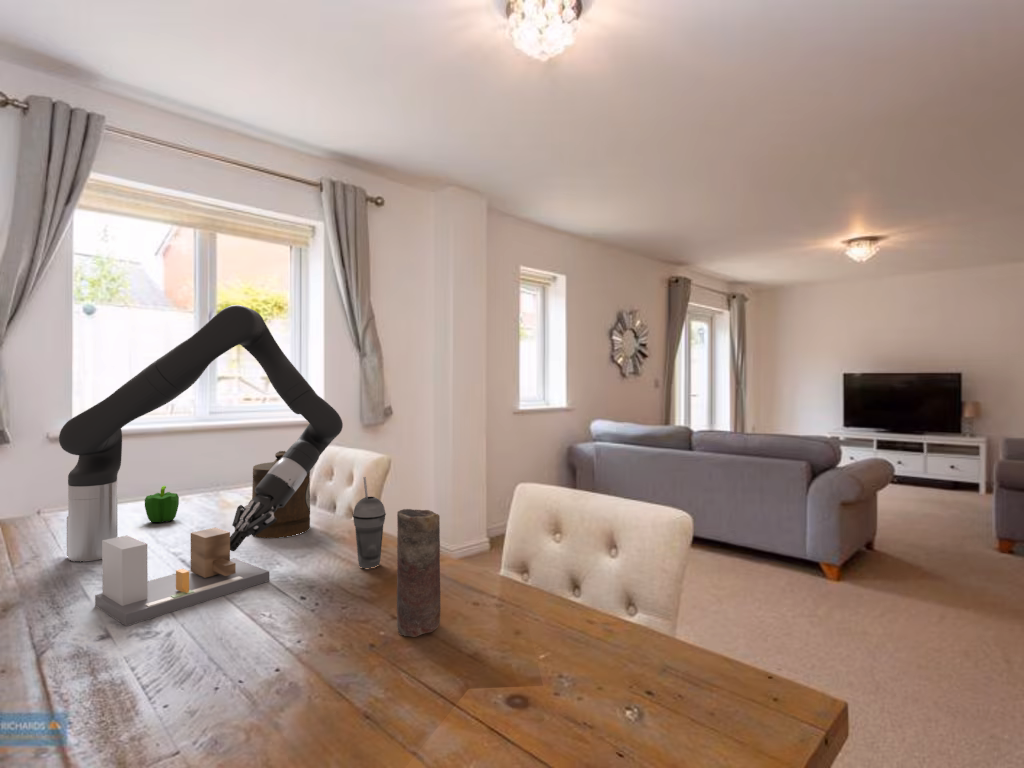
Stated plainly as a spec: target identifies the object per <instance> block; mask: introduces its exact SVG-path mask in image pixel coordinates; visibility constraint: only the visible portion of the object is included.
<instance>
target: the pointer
mask: <svg viewBox="0 0 1024 768" xmlns="http://www.w3.org/2000/svg"><path fill="white" fill-rule="evenodd" d="M175 574H176V590H178V591H180V592H186V593H188V592H189V571H188V569H184V568H180V569H179V568H178V569H176V570H175Z"/></svg>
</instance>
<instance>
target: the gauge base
mask: <svg viewBox="0 0 1024 768" xmlns="http://www.w3.org/2000/svg"><path fill="white" fill-rule="evenodd" d="M101 560H102V563H101V564H102V567H101V568H102V574H101V575H102V576H101V578H102V592H101V593H98V594H95V595H94V606H95V607H96V608H97V609H99V610H100V611H102V612H104V613H105V614H107V615H108V616H110V617H111V618H113V619H114V620H116V621H118V622H119V623H120V624H123V626H125V627H129V626H131V625H134V624H138V623H141V622H143V621H147V620H150V619H155V618H156V617H160V616H163V615H167V614H169V613H172V612H175V611H178V610H182V609H185V608H188V607H192V606H195V605H198V604H200V603H204V602H207V601H210V600H214V599H216V598H219V597H223V596H227V595H229V594H233V593H236V592H238V591H243V590H244V589H249V588H251V587H255V586H257V585H261V584H263V583H266V582H267V583H268V582H269V581H270V570H267V569H264V568H261V567H259V566H257V565H254V564H251V563H249V562H246V561H243V560H241V559H238V558H230V561H231V562H234V563H236V573H234V574H231V575H227V576H224V575H222V574H217V575H213V576H210V577H206V578H204V577H202V576H200V575H198V574H195V573H193V572H191V569H187V571H189V592H188V593H186V592H180V591H178V590H176V573H173V574H169V575H165V576H162V577H158V578H155V579H151V580H148V575H149V573H148V543H145V542H144V541H141V540H139V539H136V538H134V537H132V536H129V535H123V536H117V538H112V539H107V540H102V559H101Z"/></svg>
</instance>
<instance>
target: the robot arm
mask: <svg viewBox="0 0 1024 768" xmlns="http://www.w3.org/2000/svg"><path fill="white" fill-rule="evenodd" d="M237 346H241V347H242V348H244V349H245V350H246V351H247V352H248V353H249V354H250V355H251V356H252V357H253V358H254V359H255V360H256V361H257V362H258V364H259V365H260V366H261V368H262V369H263V371H264V373H265V374H266V377H267V378H268V380H269V382H270V383H271V385H272V387H273V389H274V390H275V392H276V393H277V395H278V396H279V397H280V398H281V399H282V401H283V402H284V403H285V405H287V407H288V408H289V409H290V410H291V411H292V412H293V413H294V414H295V415H301V416H302V417H303V418H304V419H305V420H306V421H307V422H308V424H307V426H306V427H305V429H304V430H303V432H301V434H300V436H299V437H298V439H297V440H296V441H295V442H293V444H292V445H291V446H290V447H289V448H288V449H287V450H286V453H285V454H284V455H283V456H282V458H281V459H280V460H279V461H278V462H277V463H276V464H275V465H274V466H273V467H272V468H271V469H270V470H269V472H268V473H267V474H266V475H265V477H264V478H263V479H262V480H261V481H260V483H259V484H258V485H257V486H256V488H255V492H256V496H255V497H254V498H253V499H252V498H251V500H250V501H249V502H248V504H247V505H245V506H243V504H240V505H238V506H237V508H236V512H235V515H234V518H233V521H232V526H233V527H234V531H233V533H231V534H230V552H235V551H236V550H237V549H238V548H239V547H240V545H241V544H242V543H243V542H244V540H245V539H246V538H248V537H249V538H250V536H252V537H256V536H255V535H257V534H258V533H260V532H261V531H263V530H264V529H266V528H267V527H268V526H270V525H271V524H273V523H274V522H276V520H277V519H276V518H275V517H274V513H275V511H276V510H277V508H283V507H284V506H285V505H286V503H287V502H288V501H289V499H290V498H291V497H292V495H293V494H294V493H295V492H296V490H297V489H298V488H299V486H300V485H301V484H302V482H303V480H304V479H305V477H306V476H307V474H308V473H309V472H310V473H311V470H312V469H313V468H314V466H315V465H316V464H317V462H318V460H319V458H320V456H321V455H322V454H323V453H324V451H325V450H326V449H327V448H328V446H329V445H330V444H331V443H332V442H333V441H334V440H335V438H337V437H338V436H339V435H340V434H341V432H342V430H343V426H344V425H343V420H342V418H341V416H340V414H339V413H338V412H337V410H336V409H335V408H334V407H333V406H331V405H330V404H329V403H328V402H327V401H326V400H325V399H324V398H322V397H321V396H320V395H318V394H317V392H316V391H315V390H314V389H313V387H312V386H311V385H310V384H309V383H308V381H307V380H306V379H305V377H304V376H303V375H302V374H301V373H300V371H299V370H298V369H297V368H296V366H295V365H294V364H293V363H292V362H291V360H290V359H289V358H288V357H287V355H286V354H284V351H283V350H282V349H281V348H280V346H279V344H278V343H277V340H276V339H275V338H274V336H273V335H272V333H271V330H270V329H269V327H268V325H267V323H266V321H265V320H264V318H263V317H262V315H261V314H260V313H259V312H257V311H256V310H254V309H252V308H250V307H247V306H244V305H240V304H233V305H229V306H227V307H224V308H223V309H221V310H220V311H219V312H218V313H216V314H215V315H214V316H213V317H212V318H211V319H209V321H208V322H207V323H205V324H204V325H203V326H202V327H201V328H200V329H199V330H197V331H196V333H194V334H193V335H192V336H190V337H188V338H187V339H186V340H184V341H182V342H180V344H178V345H176V346H175V347H174V348H173V349H171V350H169V351H168V352H167V353H165V354H164V355H162V356H160V357H159V358H158V359H156V360H155V361H153V362H151V364H149V365H148V366H147V367H145V368H144V369H143V370H141V371H140V372H138V373H137V374H136V375H134V377H132V378H130V379H129V380H128V381H126V382H125V383H124V384H122V385H121V386H120V387H119V388H118V389H116V390H115V391H114V392H113V393H111V394H110V395H109V396H107V397H105V399H103V400H101V401H100V402H98V403H96V404H95V405H93V406H92V407H90V408H88V409H86V410H84V411H83V412H80V413H79V414H77V415H76V416H74V417H72V418H70V419H69V420H67V422H66V423H65V424H63V426H62V427H61V429H60V431H59V435H58V442H59V445H60V447H61V448H62V450H63V451H65V452H66V453H68V454H70V455H74V456H78V460H77V463H76V464H75V466H74V467H73V468H72V469H71V470H70V472H69V473H68V474H67V475H68V476H67V484H68V485H67V490H68V491H67V492H68V493H67V494H68V495H67V498H68V499H67V502H68V503H67V504H68V505H67V507H68V508H67V509H68V514H67V515H68V516H66V557H67V556H68V557H67V558H68V561H70V560H71V561H70V562H75V561H80V562H81V561H83V562H92V561H99V560H102V540H107V539H112V538H117V537H118V473H119V471H120V470H121V469H120V468H121V465H122V454H123V453H122V452H123V431H122V429H123V428H124V427H125V426H126V425H127V424H129V423H131V422H133V421H134V420H136V419H139V418H141V417H142V416H144V415H147V414H149V413H151V412H153V411H155V410H157V409H159V408H161V407H163V406H165V405H166V404H169V403H170V402H171V401H173V400H175V399H176V398H177V397H179V396H180V395H182V394H183V393H184V392H185V391H187V390H188V389H189V388H190V387H192V386H193V385H194V384H195V383H196V382H197V381H198V379H199V378H201V376H202V375H203V373H204V372H205V370H207V368H208V367H209V365H211V363H212V362H214V361H215V360H216V359H218V358H219V357H220V356H222V355H223V354H225V353H226V352H229V350H231V349H233V348H235V347H237ZM80 562H79V563H80ZM81 563H82V562H81Z"/></svg>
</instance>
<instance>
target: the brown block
mask: <svg viewBox="0 0 1024 768" xmlns="http://www.w3.org/2000/svg"><path fill="white" fill-rule="evenodd" d="M230 536H231V532H230V531H227V530H224V529H221V528H218V527H212V528H207V529H202V530H198V531H192V532H190V570H191V572H193V573H195V574H198V575H200V576H202V577H204V578H206V577H210V576H213V575H217V574H222V575H224V576H227V575H231V574H234V573H236V563H234V562H231V561H230V559H231V550H230Z"/></svg>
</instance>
